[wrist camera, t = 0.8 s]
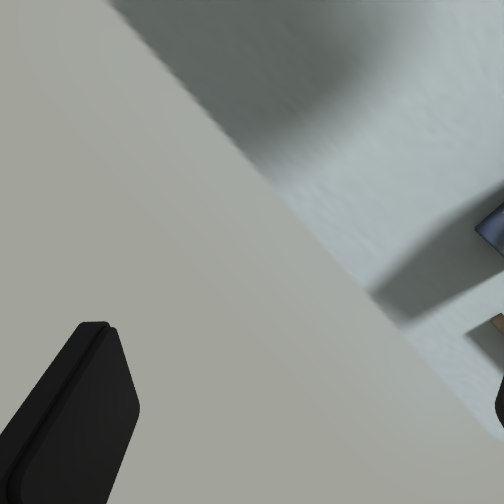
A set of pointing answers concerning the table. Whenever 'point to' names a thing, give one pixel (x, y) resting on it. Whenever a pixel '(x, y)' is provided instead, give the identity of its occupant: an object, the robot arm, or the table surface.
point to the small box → (493, 229)
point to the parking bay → (499, 322)
